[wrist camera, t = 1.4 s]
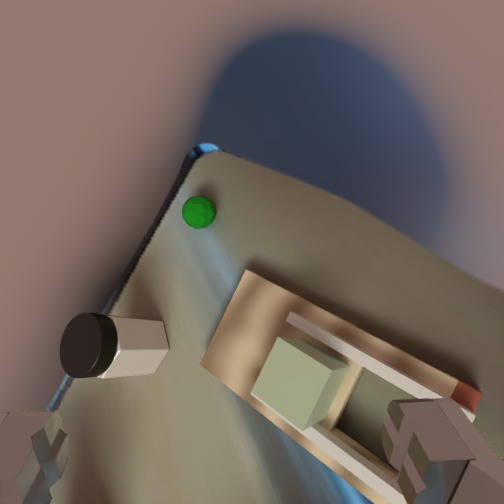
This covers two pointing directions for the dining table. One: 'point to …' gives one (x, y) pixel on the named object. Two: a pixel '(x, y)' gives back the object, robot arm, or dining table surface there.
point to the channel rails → (334, 445)
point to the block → (300, 381)
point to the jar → (112, 346)
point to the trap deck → (274, 325)
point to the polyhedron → (198, 212)
